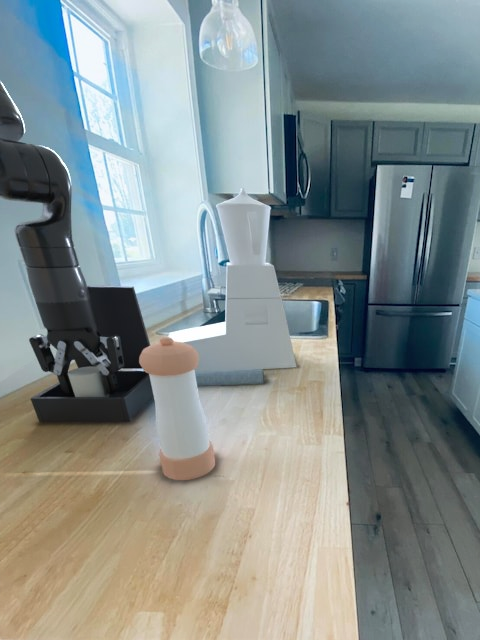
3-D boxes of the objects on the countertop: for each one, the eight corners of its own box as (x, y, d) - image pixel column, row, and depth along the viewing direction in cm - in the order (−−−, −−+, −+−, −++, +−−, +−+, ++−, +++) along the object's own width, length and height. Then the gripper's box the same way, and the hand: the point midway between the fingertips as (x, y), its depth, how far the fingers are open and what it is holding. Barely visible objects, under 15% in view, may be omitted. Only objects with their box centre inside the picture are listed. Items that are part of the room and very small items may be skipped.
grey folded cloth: (160, 391, 80) (157, 376, 79) (166, 380, 86) (163, 366, 84) (264, 386, 84) (263, 372, 82) (263, 376, 90) (262, 363, 88)
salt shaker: (188, 488, 49) (161, 348, 40) (152, 473, 52) (119, 339, 43) (226, 463, 55) (209, 335, 46) (191, 451, 58) (169, 328, 49)
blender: (161, 377, 88) (121, 176, 69) (170, 356, 103) (140, 187, 85) (297, 370, 95) (294, 186, 76) (286, 351, 111) (281, 195, 92)
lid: (132, 287, 66) (142, 278, 70) (42, 286, 65) (59, 277, 70) (155, 368, 76) (163, 356, 80) (78, 368, 75) (90, 356, 80)
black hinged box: (131, 425, 65) (124, 398, 63) (40, 426, 64) (30, 398, 62) (161, 393, 79) (156, 369, 77) (87, 393, 78) (79, 369, 76)
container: (75, 418, 66) (61, 375, 62) (90, 406, 70) (77, 366, 67) (104, 417, 66) (92, 375, 62) (117, 406, 71) (106, 366, 67)
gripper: (119, 294, 63) (140, 386, 70) (31, 293, 62) (63, 386, 70) (97, 300, 56) (123, 401, 64) (-1, 299, 55) (37, 401, 63)
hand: (91, 393), depth 67 cm, fingers open, 6 cm apart
